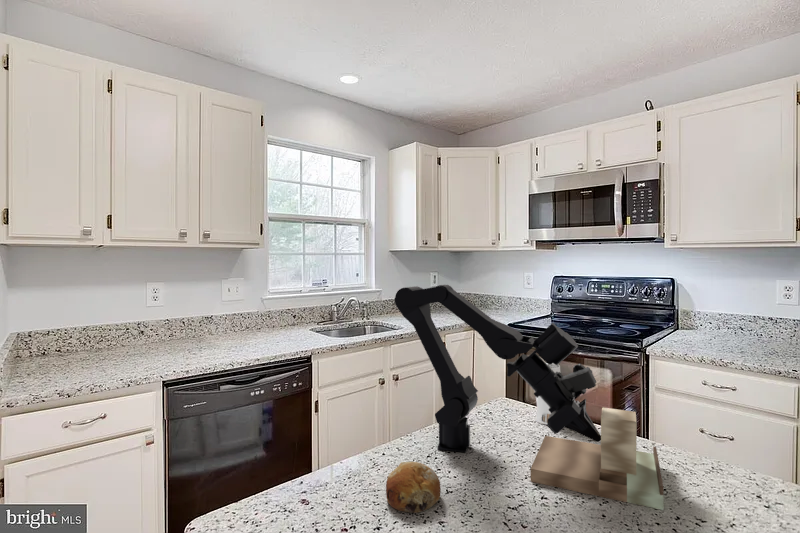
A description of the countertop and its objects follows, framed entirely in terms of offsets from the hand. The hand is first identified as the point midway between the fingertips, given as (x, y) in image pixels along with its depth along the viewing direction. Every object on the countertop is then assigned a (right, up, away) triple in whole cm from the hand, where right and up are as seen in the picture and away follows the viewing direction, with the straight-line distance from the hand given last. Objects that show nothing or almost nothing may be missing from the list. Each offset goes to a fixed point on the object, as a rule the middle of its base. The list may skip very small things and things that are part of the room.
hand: (600, 440), depth 87 cm
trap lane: (-1, -7, 0) cm, 7 cm away
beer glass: (0, -7, +30) cm, 30 cm away
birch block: (+3, -4, -1) cm, 5 cm away
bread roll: (-37, -8, -8) cm, 39 cm away
